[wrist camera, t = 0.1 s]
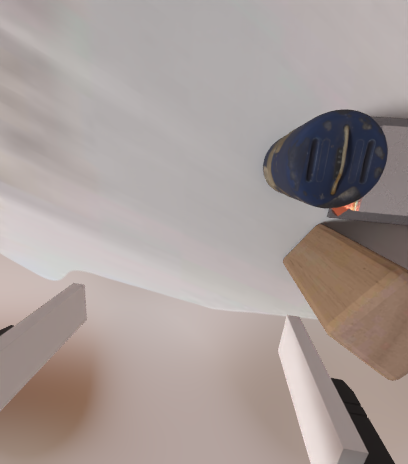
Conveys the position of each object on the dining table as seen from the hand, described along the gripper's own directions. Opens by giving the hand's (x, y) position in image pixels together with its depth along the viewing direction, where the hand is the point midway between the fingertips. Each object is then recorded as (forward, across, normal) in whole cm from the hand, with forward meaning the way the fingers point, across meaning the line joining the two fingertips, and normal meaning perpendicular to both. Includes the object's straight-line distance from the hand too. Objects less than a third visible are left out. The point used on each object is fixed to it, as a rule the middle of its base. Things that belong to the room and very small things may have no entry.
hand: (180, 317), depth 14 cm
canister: (+28, +12, +11) cm, 33 cm away
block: (+28, +21, -4) cm, 35 cm away
